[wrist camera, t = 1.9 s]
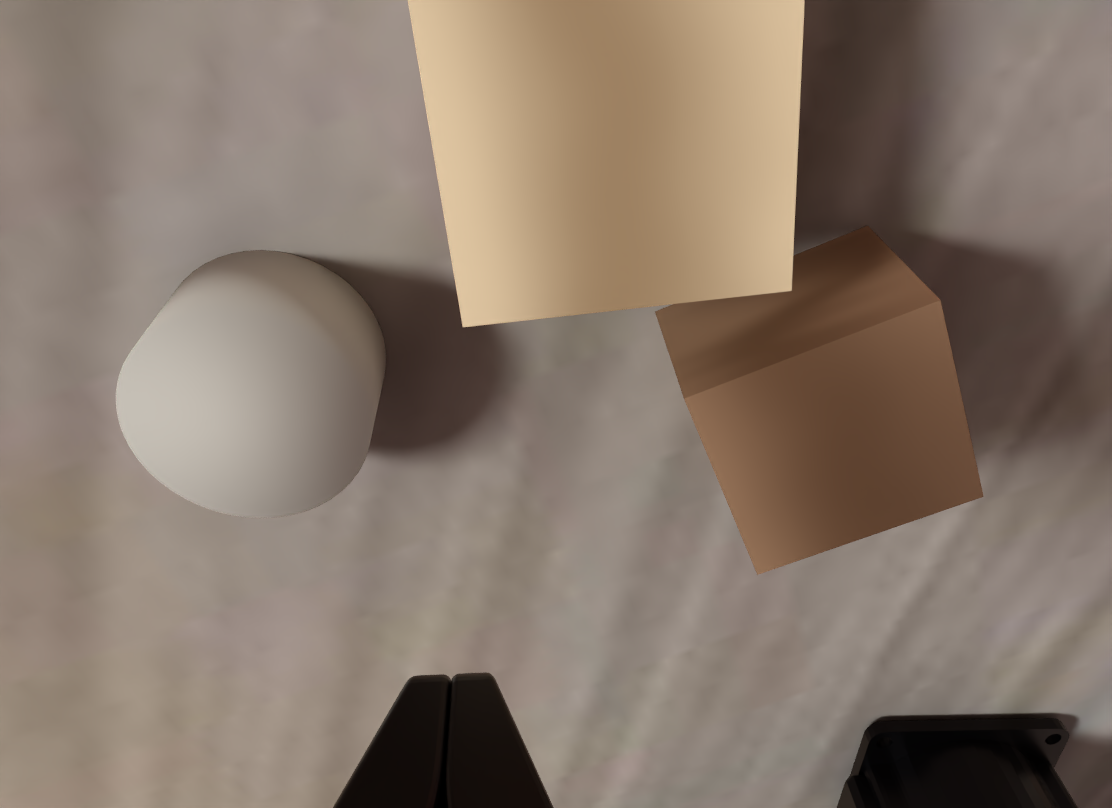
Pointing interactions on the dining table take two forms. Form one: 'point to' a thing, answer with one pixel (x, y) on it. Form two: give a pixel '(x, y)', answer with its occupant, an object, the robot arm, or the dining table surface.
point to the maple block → (612, 150)
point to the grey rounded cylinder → (255, 386)
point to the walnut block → (826, 401)
